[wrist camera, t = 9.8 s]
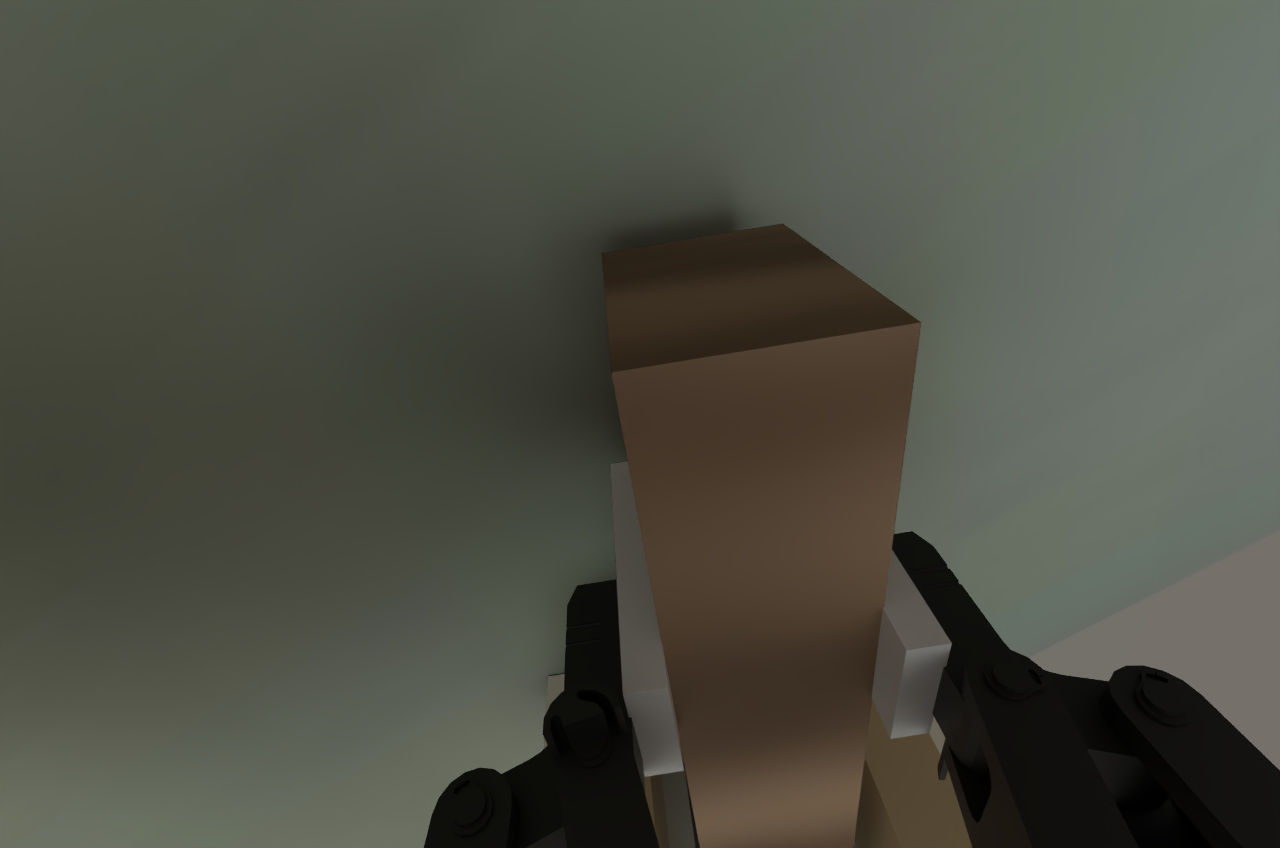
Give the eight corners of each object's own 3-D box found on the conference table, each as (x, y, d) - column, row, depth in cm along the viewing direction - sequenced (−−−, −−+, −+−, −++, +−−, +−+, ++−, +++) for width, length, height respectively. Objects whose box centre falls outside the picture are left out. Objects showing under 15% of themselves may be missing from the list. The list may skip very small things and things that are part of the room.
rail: (593, 254, 12) (596, 389, 7) (791, 221, 12) (953, 331, 7) (678, 720, 22) (708, 934, 16) (791, 702, 22) (859, 911, 16)
